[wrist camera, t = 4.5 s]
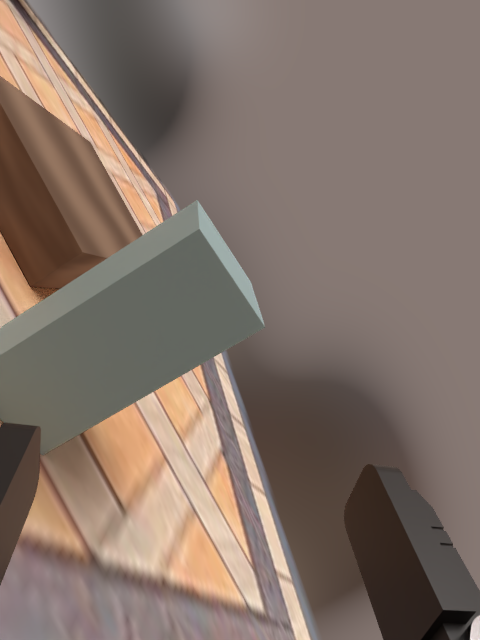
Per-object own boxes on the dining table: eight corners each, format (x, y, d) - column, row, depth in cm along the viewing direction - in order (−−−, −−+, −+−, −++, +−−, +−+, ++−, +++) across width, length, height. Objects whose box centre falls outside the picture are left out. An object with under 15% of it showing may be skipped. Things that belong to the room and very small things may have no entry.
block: (42, 455, 20) (265, 327, 18) (-44, 382, 18) (199, 228, 16) (69, 390, 25) (250, 282, 23) (2, 326, 23) (197, 199, 21)
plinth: (30, 286, 27) (82, 252, 26) (-73, 95, 28) (-25, 57, 27) (127, 293, 41) (163, 271, 40) (56, 166, 41) (90, 142, 41)
